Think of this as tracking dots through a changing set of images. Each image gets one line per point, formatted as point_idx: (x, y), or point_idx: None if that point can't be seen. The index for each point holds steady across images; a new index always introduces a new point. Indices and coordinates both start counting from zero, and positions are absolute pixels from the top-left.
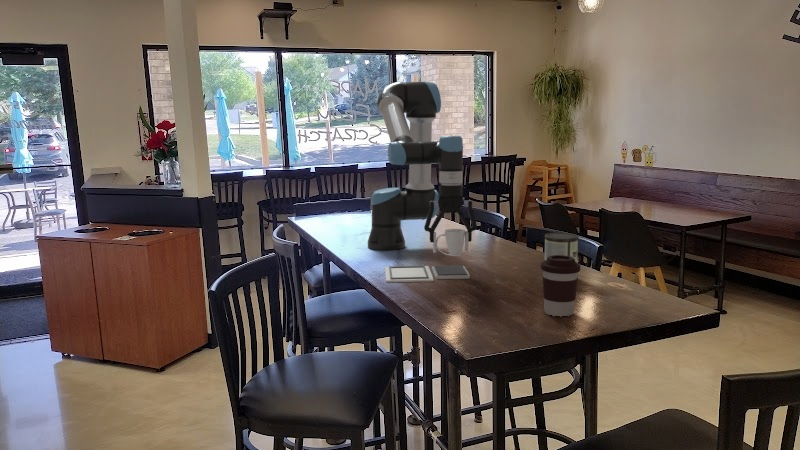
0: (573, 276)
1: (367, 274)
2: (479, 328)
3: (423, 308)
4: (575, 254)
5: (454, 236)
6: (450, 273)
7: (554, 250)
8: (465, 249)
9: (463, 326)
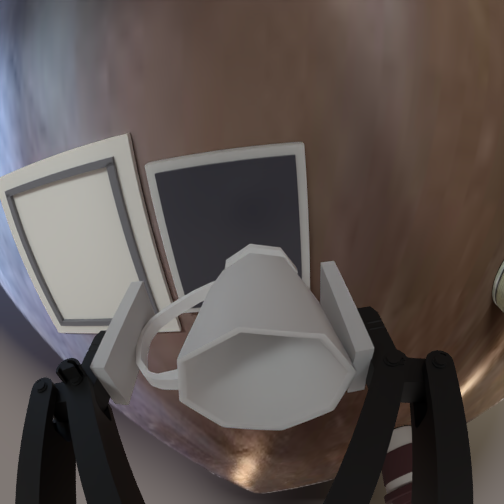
0: None
1: None
2: (276, 472)
3: (195, 445)
4: None
5: (256, 406)
6: None
7: None
8: (322, 292)
9: (257, 471)
